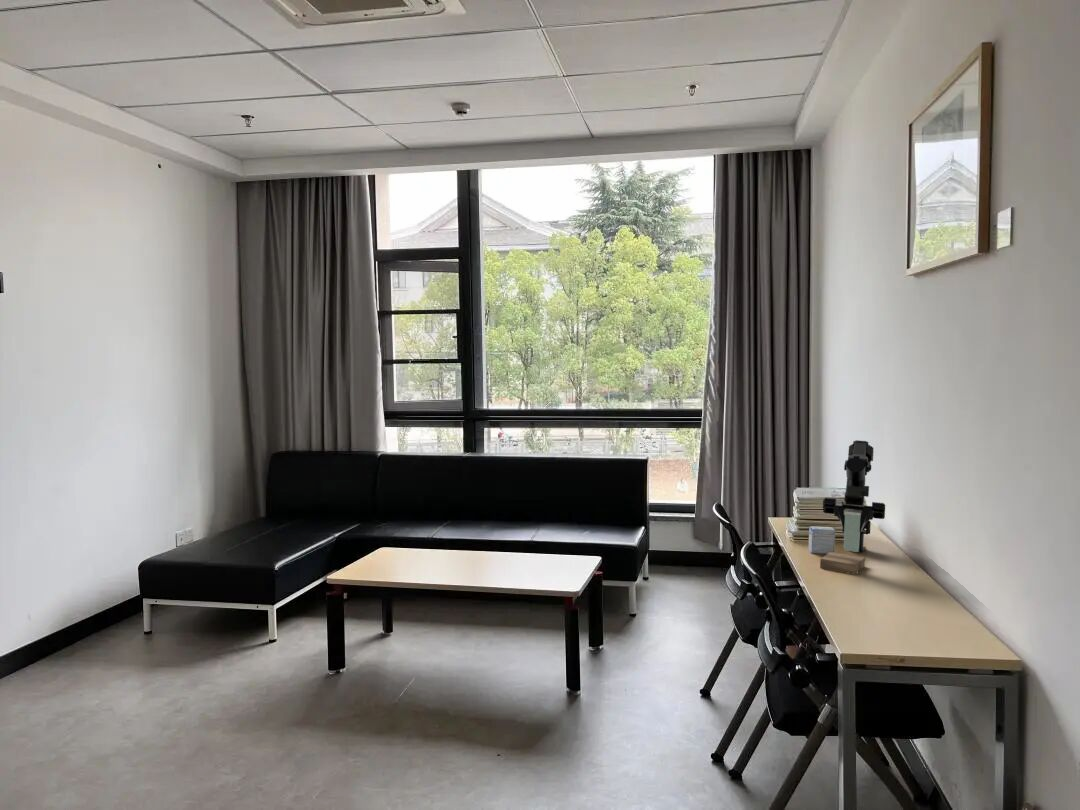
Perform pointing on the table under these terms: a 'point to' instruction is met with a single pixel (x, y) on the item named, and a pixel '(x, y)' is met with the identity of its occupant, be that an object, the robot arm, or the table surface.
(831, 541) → the medicine box
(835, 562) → the plinth
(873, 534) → the table surface
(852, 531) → the tea tin
